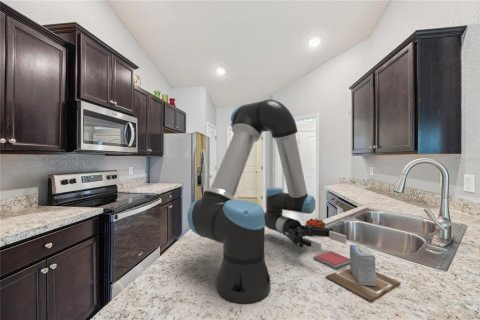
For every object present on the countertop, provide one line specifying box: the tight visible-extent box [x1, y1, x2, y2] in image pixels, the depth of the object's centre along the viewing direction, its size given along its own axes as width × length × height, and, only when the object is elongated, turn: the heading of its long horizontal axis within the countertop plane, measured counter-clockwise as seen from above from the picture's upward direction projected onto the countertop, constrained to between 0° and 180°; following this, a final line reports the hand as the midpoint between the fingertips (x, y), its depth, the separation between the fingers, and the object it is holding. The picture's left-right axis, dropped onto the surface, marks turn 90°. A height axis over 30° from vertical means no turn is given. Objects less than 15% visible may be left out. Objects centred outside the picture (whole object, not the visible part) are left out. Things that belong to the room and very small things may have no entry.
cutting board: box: [325, 265, 401, 303], centre depth 62 cm, size 16×13×1 cm
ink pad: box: [312, 250, 350, 271], centre depth 75 cm, size 10×9×1 cm
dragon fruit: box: [304, 217, 326, 234], centre depth 104 cm, size 8×8×12 cm
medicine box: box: [349, 244, 376, 286], centre depth 62 cm, size 8×4×9 cm, turn 169°
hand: (333, 243), depth 70 cm, fingers open, 13 cm apart
